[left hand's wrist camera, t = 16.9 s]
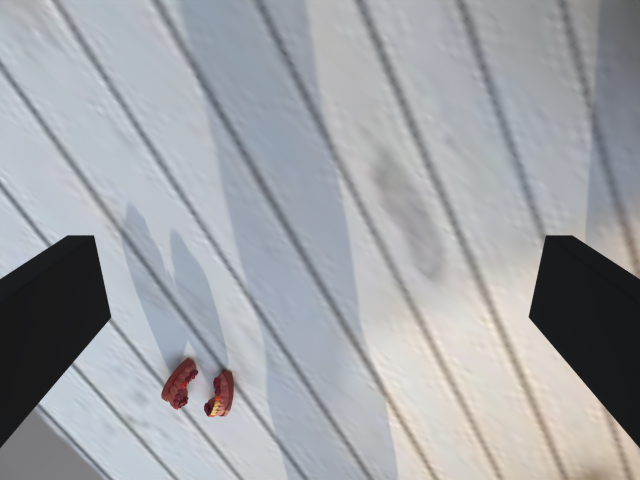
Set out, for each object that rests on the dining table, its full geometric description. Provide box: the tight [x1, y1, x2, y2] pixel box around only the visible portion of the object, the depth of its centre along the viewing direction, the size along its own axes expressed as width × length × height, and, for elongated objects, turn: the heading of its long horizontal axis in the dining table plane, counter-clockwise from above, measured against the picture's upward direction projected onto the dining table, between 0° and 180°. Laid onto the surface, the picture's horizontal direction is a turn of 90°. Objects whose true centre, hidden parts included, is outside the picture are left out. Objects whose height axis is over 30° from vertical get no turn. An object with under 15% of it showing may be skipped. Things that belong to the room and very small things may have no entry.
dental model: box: [161, 358, 233, 417], centre depth 50 cm, size 6×4×8 cm
